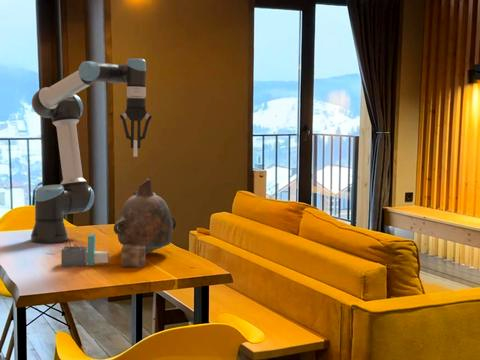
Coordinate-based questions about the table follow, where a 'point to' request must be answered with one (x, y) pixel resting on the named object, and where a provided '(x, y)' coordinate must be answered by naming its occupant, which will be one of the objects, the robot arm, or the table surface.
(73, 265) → the sleeve
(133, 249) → the socket
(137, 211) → the jug
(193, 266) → the table surface
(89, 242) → the bolt
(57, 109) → the robot arm
